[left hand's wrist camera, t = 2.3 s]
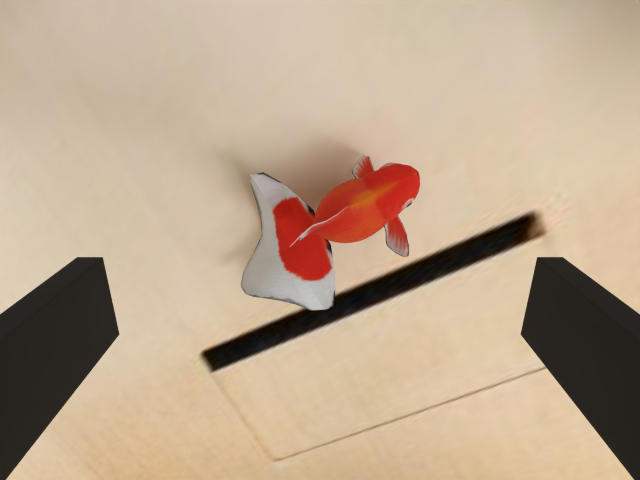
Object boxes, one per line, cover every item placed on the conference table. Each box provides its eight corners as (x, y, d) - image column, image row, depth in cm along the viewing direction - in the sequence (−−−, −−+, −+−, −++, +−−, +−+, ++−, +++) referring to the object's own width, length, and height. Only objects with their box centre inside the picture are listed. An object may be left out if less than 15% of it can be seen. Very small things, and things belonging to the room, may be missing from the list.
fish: (459, 283, 30) (420, 328, 21) (288, 299, 38) (210, 336, 30) (431, 138, 29) (379, 125, 21) (264, 186, 38) (178, 190, 29)
